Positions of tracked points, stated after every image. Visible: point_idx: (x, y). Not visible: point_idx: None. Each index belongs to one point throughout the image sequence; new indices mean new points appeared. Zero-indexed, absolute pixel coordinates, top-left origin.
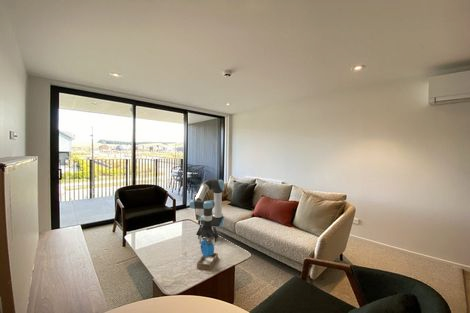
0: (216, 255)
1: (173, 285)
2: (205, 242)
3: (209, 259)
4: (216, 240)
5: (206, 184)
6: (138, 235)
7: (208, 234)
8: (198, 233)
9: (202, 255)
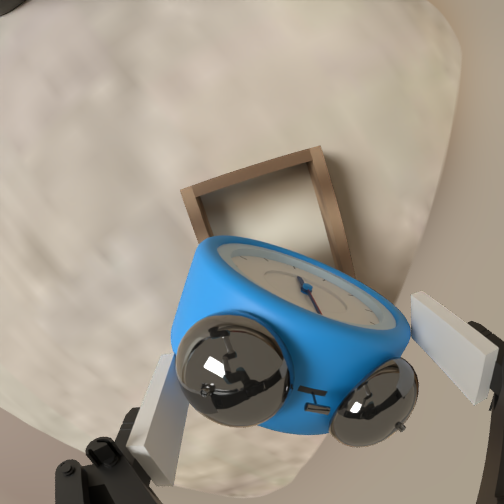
0: (332, 188)
1: (250, 481)
2: (316, 434)
3: (274, 231)
4: (486, 335)
5: None
6: None
7: None
8: (95, 493)
9: None
